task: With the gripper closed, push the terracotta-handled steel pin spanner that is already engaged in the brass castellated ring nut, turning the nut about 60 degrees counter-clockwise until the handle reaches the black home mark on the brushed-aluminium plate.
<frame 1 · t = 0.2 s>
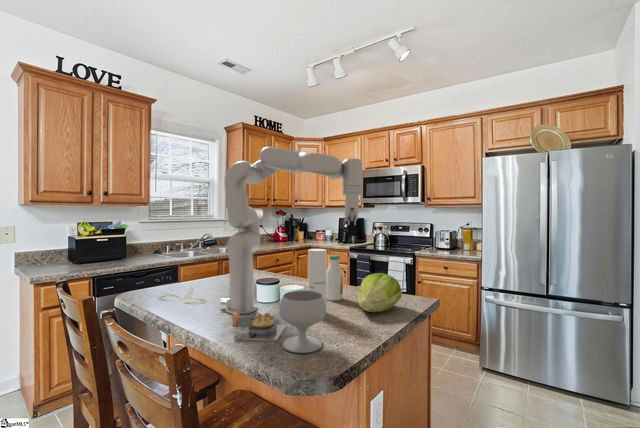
hand: (352, 235, 125), 31 cm above the countertop, fingers open, 9 cm apart
milk bottle: (334, 299, 148), on the countertop
cylindrical container: (317, 313, 127), on the countertop
cap plate: (262, 332, 106), on the countertop
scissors: (183, 300, 146), on the countertop
chalice: (302, 346, 96), on the countertop
ring nut spanner: (253, 319, 105), point 5 cm above the countertop, hinge at 0.0°
lettuce: (375, 311, 131), on the countertop
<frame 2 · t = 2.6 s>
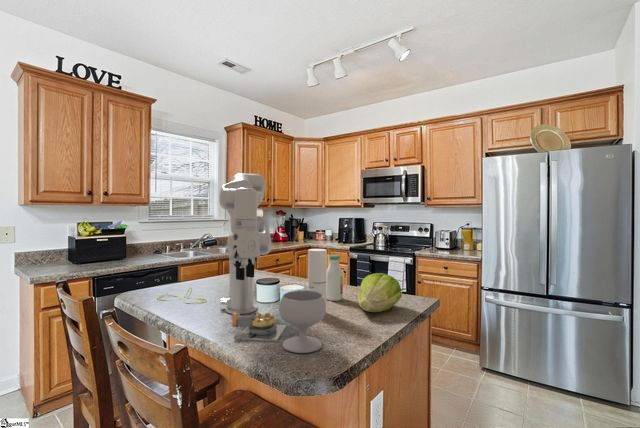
hand: (245, 277, 109), 17 cm above the countertop, fingers open, 4 cm apart
nothing on the countertop moved.
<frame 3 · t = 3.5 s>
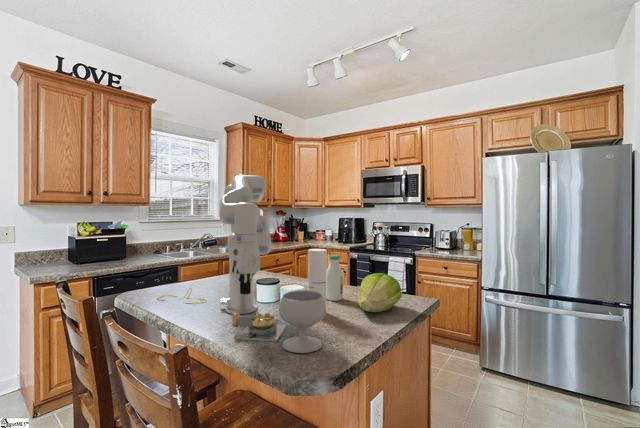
hand: (245, 293, 108), 12 cm above the countertop, fingers closed
nothing on the countertop moved.
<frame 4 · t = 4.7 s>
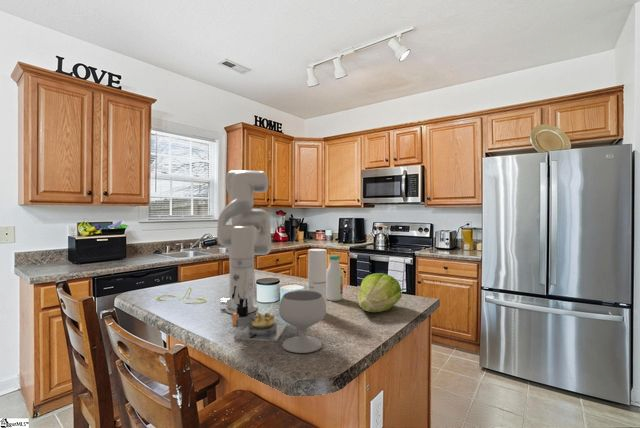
hand: (242, 318, 107), 4 cm above the countertop, fingers closed
ring nut spanner: (253, 319, 105), point 5 cm above the countertop, hinge at 0.5°, touching gripper
everything else where it was.
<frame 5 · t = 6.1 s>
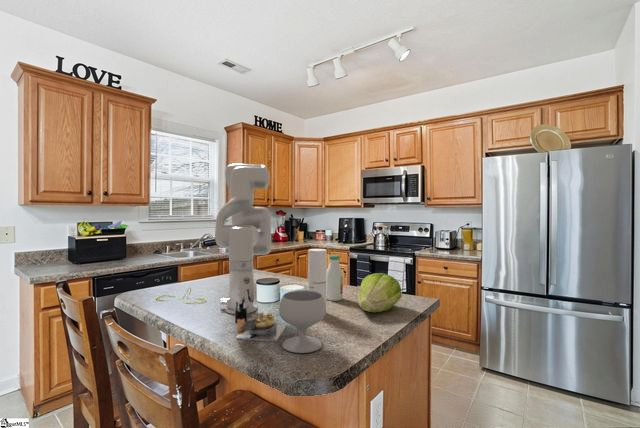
hand: (240, 323, 102), 4 cm above the countertop, fingers closed
ring nut spanner: (255, 320, 103), point 5 cm above the countertop, hinge at 41.7°, touching gripper
everything else where it was.
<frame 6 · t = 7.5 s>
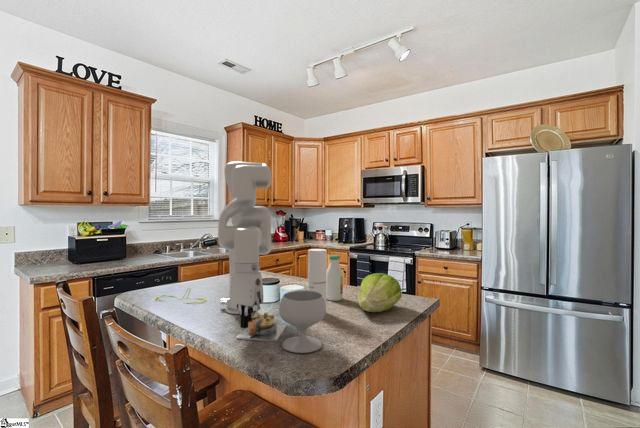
hand: (246, 326, 100), 4 cm above the countertop, fingers closed
ring nut spanner: (259, 321, 103), point 5 cm above the countertop, hinge at 70.2°, touching gripper
everything else where it was.
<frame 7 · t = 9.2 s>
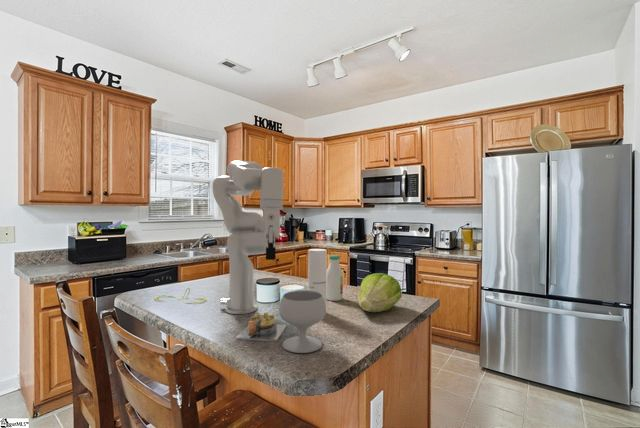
hand: (270, 259, 108), 24 cm above the countertop, fingers closed
ring nut spanner: (259, 321, 103), point 5 cm above the countertop, hinge at 70.3°
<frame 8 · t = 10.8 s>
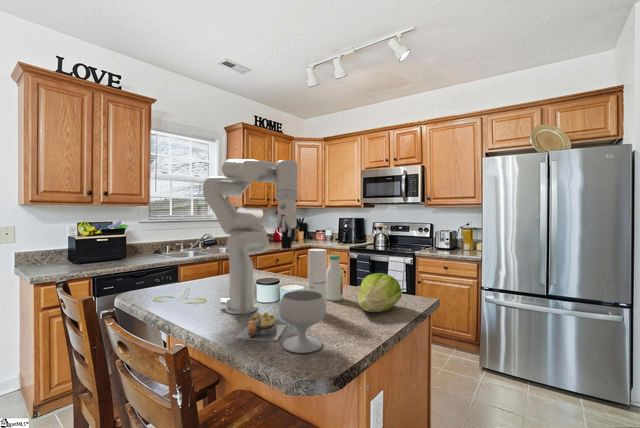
hand: (286, 248, 113), 27 cm above the countertop, fingers closed
at the end: ring nut spanner at +70° (first picture: +0°) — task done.
